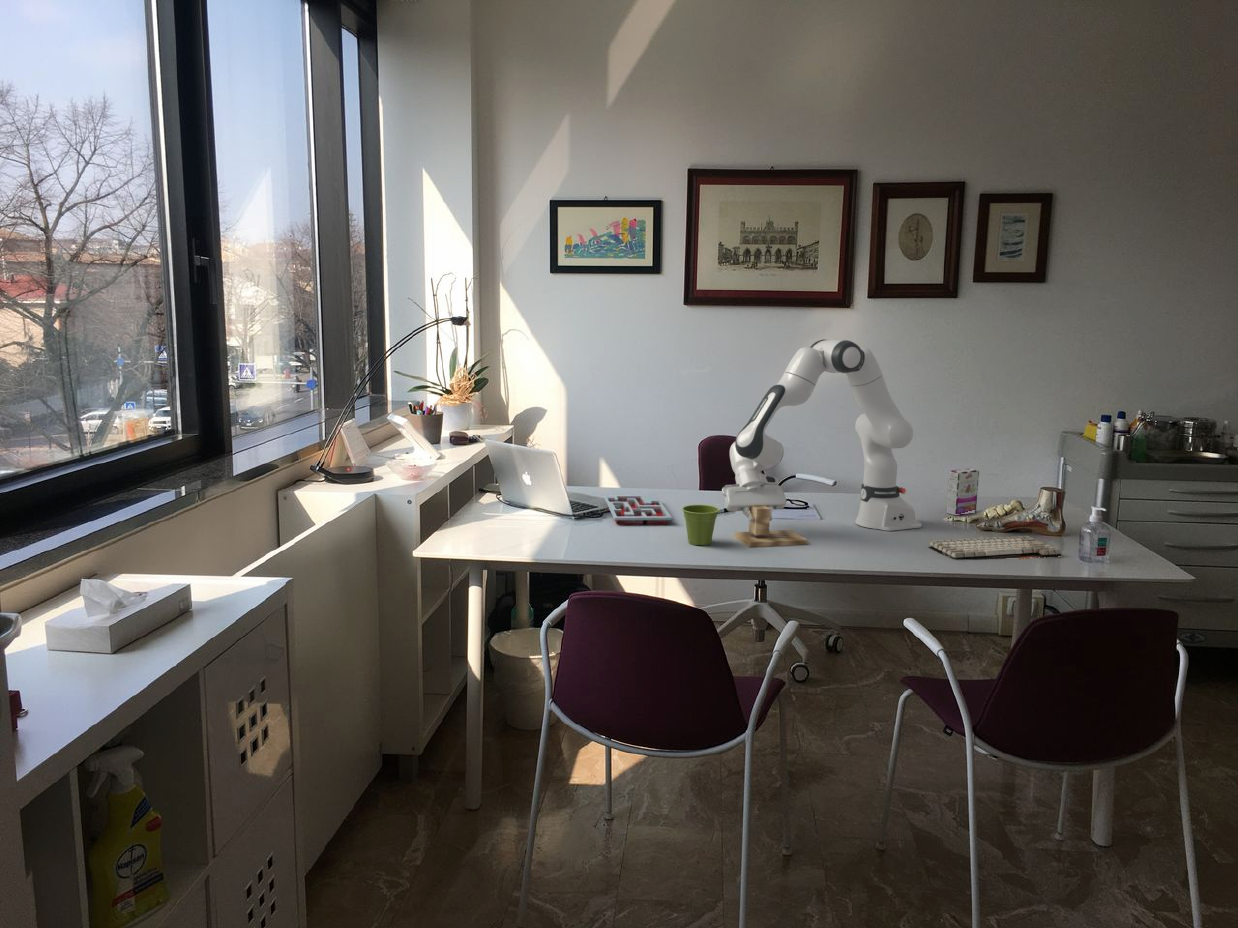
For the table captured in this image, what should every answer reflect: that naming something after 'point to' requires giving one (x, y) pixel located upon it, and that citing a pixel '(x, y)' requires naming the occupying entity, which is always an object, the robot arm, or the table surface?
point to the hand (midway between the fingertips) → (760, 520)
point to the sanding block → (759, 521)
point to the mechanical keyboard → (994, 548)
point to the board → (771, 539)
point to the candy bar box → (962, 490)
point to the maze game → (637, 509)
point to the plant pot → (700, 523)
